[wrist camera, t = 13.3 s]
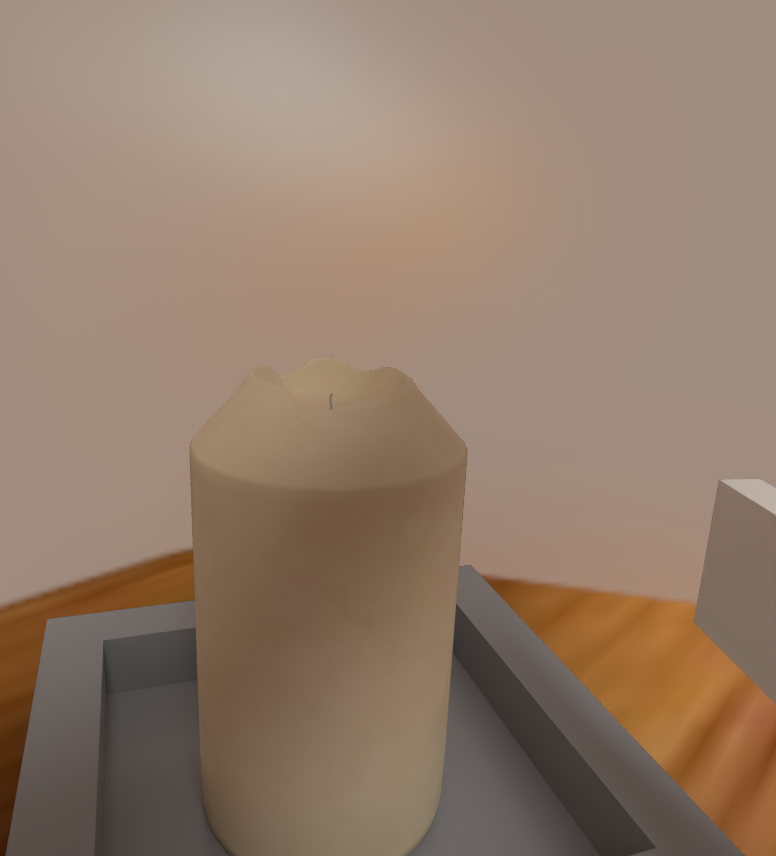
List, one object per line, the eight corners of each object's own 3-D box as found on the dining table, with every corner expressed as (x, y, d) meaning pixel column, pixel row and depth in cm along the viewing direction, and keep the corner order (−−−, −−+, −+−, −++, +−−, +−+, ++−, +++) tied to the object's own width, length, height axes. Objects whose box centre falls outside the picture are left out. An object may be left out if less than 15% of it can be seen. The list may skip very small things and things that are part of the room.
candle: (184, 900, 14) (161, 403, 12) (217, 714, 20) (206, 341, 17) (462, 883, 15) (505, 407, 12) (422, 708, 20) (445, 346, 17)
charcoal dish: (465, 630, 26) (470, 564, 25) (756, 998, 14) (781, 895, 13) (55, 695, 21) (47, 619, 21) (-26, 1301, 10) (-51, 1174, 9)
